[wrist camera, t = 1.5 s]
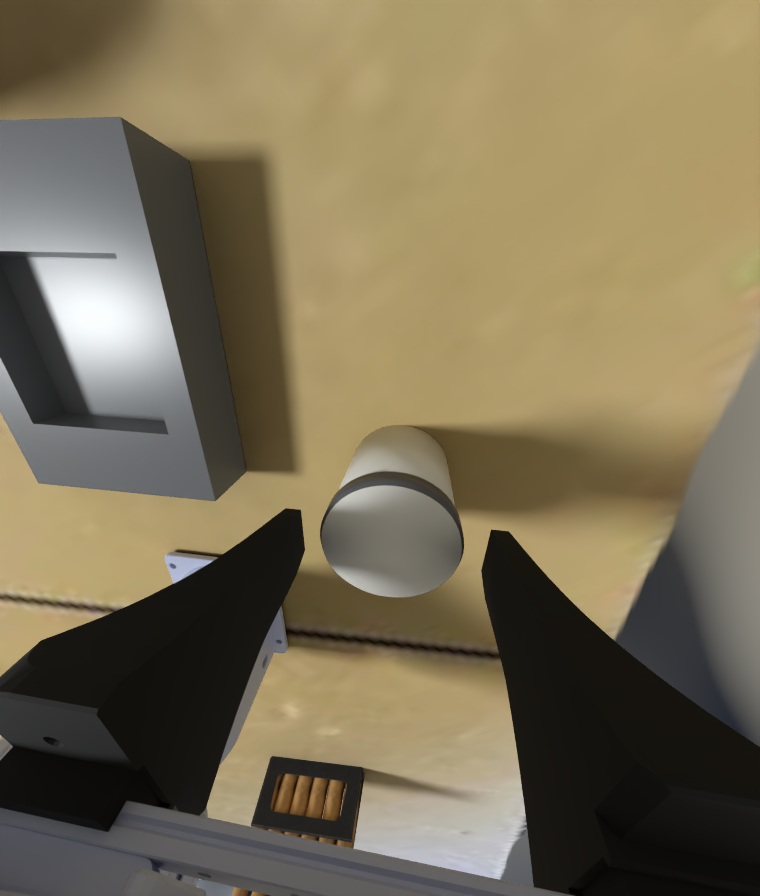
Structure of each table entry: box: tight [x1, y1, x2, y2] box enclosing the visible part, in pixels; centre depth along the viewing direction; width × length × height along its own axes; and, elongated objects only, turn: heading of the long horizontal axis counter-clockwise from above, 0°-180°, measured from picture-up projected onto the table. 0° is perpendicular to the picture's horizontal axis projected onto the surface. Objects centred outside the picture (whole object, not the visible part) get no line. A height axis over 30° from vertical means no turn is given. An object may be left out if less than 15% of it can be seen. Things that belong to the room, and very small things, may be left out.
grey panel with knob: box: [0, 117, 246, 501], centre depth 14 cm, size 14×10×4 cm
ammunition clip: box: [232, 756, 364, 896], centre depth 29 cm, size 11×2×12 cm, turn 95°
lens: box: [320, 425, 464, 597], centre depth 14 cm, size 5×5×6 cm
